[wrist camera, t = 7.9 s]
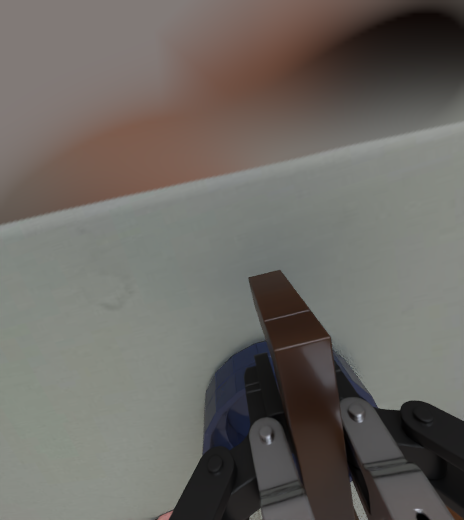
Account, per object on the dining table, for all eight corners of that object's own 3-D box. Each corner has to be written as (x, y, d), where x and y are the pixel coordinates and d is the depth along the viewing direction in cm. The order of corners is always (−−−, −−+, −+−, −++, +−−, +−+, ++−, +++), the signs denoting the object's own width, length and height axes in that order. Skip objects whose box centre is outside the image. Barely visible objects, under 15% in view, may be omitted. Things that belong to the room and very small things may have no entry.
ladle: (211, 286, 12) (208, 366, 7) (316, 260, 12) (397, 320, 7) (283, 537, 18) (311, 682, 13) (352, 520, 18) (409, 659, 13)
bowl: (175, 381, 24) (165, 429, 20) (315, 306, 23) (341, 337, 18) (250, 471, 29) (258, 527, 24) (372, 412, 27) (405, 460, 23)
